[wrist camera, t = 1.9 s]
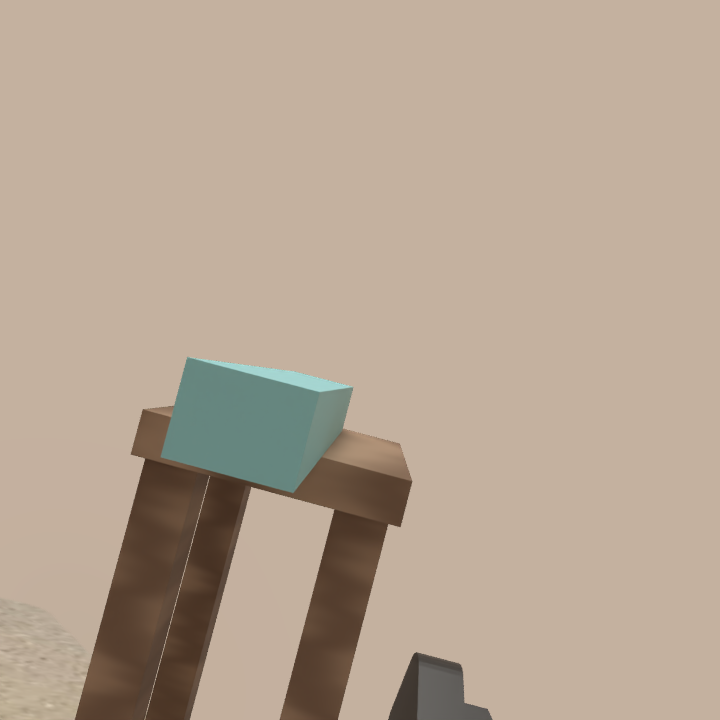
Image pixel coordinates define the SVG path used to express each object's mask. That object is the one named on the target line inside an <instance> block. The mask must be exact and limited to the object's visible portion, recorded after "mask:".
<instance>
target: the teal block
mask: <svg viewBox="0 0 720 720" xmlns="http://www.w3.org/2000/svg"><path fill="white" fill-rule="evenodd" d="M352 391H353V387H351V386H347V385H344V384H340V383H336V382H332V381H329V380H325V379H321V378H317V377H313V376H310V375H306V374H302V373H298V372H293V371H285V370H278V369H271V368H264V367H256V366H249V365H241V364H234V363H226V362H219V361H212V360H204V359H196V358H189V357H187V360H186V364H185V368H184V372H183V375H182V379H181V383H180V386H179V390H178V394H177V398H176V401H175V405H174V409H173V412H172V416H171V420H170V424H169V427H168V431H167V435H166V438H165V442H164V446H163V450H162V453H161V458H165V459H169V460H173V461H176V462H180V463H184V464H187V465H191V466H195V467H199V468H202V469H206V470H210V471H213V472H217V473H221V474H225V475H228V476H232V477H236V478H239V479H243V480H247V481H250V482H254V483H258V484H262V485H265V486H269V487H273V488H276V489H280V490H284V491H288V492H291V493H294V491H295V490H296V489H297V488H298V486H299V485H300V484H301V482H302V481H303V480H304V479H305V477H306V476H307V475H308V474H309V472H310V471H311V470H312V468H313V467H314V466H315V465H316V463H317V462H318V461H319V460H320V458H321V457H322V456H323V454H324V453H325V452H326V451H327V449H328V448H329V447H330V446H331V444H332V443H333V442H334V440H335V439H336V438H337V437H338V435H339V434H340V433H341V432H342V429H343V425H344V421H345V417H346V413H347V409H348V406H349V402H350V398H351V394H352Z"/></svg>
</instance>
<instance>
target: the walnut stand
mask: <svg viewBox="0 0 720 720" xmlns="http://www.w3.org/2000/svg"><path fill="white" fill-rule="evenodd" d="M173 409H174V406H169V407H161V408H152V409H143V411H142V415H141V419H140V422H139V426H138V429H137V433H136V437H135V441H134V445H133V448H132V452H131V455H135V456H139V457H143V458H145V462H144V465H143V469H142V473H141V476H140V480H139V484H138V488H137V491H136V495H135V499H134V503H133V506H132V510H131V514H130V517H129V521H128V525H127V529H126V532H125V536H124V540H123V543H122V548H121V551H120V554H119V558H118V562H117V565H116V569H115V573H114V577H113V580H112V584H111V588H110V591H109V595H108V599H107V603H106V606H105V610H104V614H103V618H102V622H101V625H100V629H99V633H98V636H97V640H96V644H95V647H94V651H93V655H92V658H91V662H90V666H89V669H88V673H87V677H86V680H85V684H84V688H83V692H82V695H81V699H80V703H79V706H78V710H77V714H76V718H75V720H144V719H145V715H146V711H147V707H148V704H149V700H150V696H151V692H152V689H153V685H154V681H155V677H156V674H157V670H158V666H159V662H160V659H161V655H162V651H163V647H164V644H165V640H166V636H167V632H168V628H169V625H170V621H171V617H172V614H173V610H174V606H175V602H176V598H177V595H178V591H179V587H180V584H181V579H182V576H183V572H184V569H185V565H186V561H187V557H188V554H189V550H190V546H191V542H192V538H193V535H194V531H195V527H196V524H197V520H198V516H199V512H200V509H201V505H202V501H203V497H204V494H205V490H206V486H207V482H208V479H209V476H210V479H209V483H208V486H207V490H206V494H205V498H204V502H203V505H202V509H201V513H200V517H199V520H198V524H197V528H196V531H195V535H194V539H193V543H192V546H191V550H190V554H189V558H188V561H187V565H186V569H185V573H184V577H183V580H182V584H181V588H180V591H179V595H178V599H177V603H176V606H175V610H174V614H173V618H172V622H171V625H170V629H169V633H168V636H167V640H166V644H165V648H164V652H163V655H162V659H161V663H160V666H159V670H158V674H157V678H156V681H155V685H154V689H153V693H152V697H151V700H150V704H149V708H148V711H147V715H146V719H145V720H190V716H191V712H192V709H193V705H194V701H195V697H196V694H197V690H198V686H199V682H200V678H201V674H202V671H203V667H204V663H205V659H206V656H207V652H208V648H209V645H210V641H211V637H212V633H213V629H214V625H215V622H216V618H217V614H218V611H219V607H220V603H221V599H222V595H223V592H224V588H225V584H226V580H227V577H228V573H229V569H230V565H231V561H232V558H233V554H234V550H235V546H236V543H237V539H238V535H239V531H240V527H241V524H242V520H243V516H244V512H245V509H246V505H247V500H248V497H249V493H250V490H251V487H253V488H257V489H261V490H265V491H269V492H272V493H276V494H279V495H283V496H287V497H291V498H294V499H298V500H302V501H305V502H309V503H313V504H317V505H320V506H324V507H328V508H332V509H335V510H334V514H333V518H332V521H331V525H330V529H329V533H328V537H327V541H326V545H325V549H324V552H323V556H322V560H321V564H320V567H319V571H318V575H317V579H316V583H315V587H314V591H313V594H312V598H311V602H310V606H309V610H308V613H307V617H306V621H305V625H304V629H303V633H302V636H301V640H300V644H299V648H298V652H297V656H296V659H295V663H294V667H293V671H292V675H291V679H290V682H289V686H288V690H287V694H286V698H285V702H284V705H283V709H282V713H281V717H280V720H338V716H339V713H340V708H341V705H342V701H343V697H344V693H345V689H346V685H347V682H348V678H349V674H350V670H351V666H352V662H353V658H354V654H355V651H356V647H357V642H358V639H359V635H360V631H361V627H362V623H363V620H364V616H365V612H366V608H367V604H368V600H369V596H370V593H371V588H372V585H373V581H374V577H375V573H376V569H377V565H378V561H379V558H380V554H381V550H382V546H383V542H384V538H385V534H386V530H387V527H388V524H391V525H394V526H398V527H401V523H402V519H403V515H404V511H405V507H406V504H407V500H408V496H409V492H410V487H411V484H412V479H411V476H410V473H409V470H408V467H407V464H406V461H405V458H404V455H403V452H402V449H401V446H400V444H399V443H395V442H391V441H388V440H384V439H380V438H376V437H372V436H369V435H365V434H361V433H357V432H354V431H350V430H346V429H342V432H341V433H340V434H339V435H338V437H337V438H336V439H335V440H334V442H333V443H332V444H331V446H330V447H329V448H328V449H327V451H326V452H325V453H324V454H323V456H322V457H321V458H320V460H319V461H318V462H317V463H316V465H315V466H314V467H313V468H312V470H311V471H310V472H309V474H308V475H307V476H306V477H305V479H304V480H303V481H302V482H301V484H300V485H299V486H298V488H297V489H296V490H295V491H294V493H291V492H288V491H284V490H280V489H276V488H273V487H269V486H265V485H262V484H258V483H254V482H250V481H247V480H243V479H239V478H236V477H232V476H228V475H225V474H221V473H217V472H213V471H210V470H206V469H202V468H199V467H195V466H191V465H187V464H184V463H180V462H176V461H173V460H169V459H165V458H161V453H162V450H163V446H164V442H165V438H166V435H167V431H168V427H169V424H170V420H171V416H172V412H173Z"/></svg>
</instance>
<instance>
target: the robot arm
mask: <svg viewBox="0 0 720 720" xmlns="http://www.w3.org/2000/svg"><path fill="white" fill-rule="evenodd" d="M388 720H492V718H491V716H490V713H489V711H488V709H485V708H481V707H478V706H474V705H470V704H466V703H464V685H463V671H462V667H461V665H460V664H459V663H455V662H451V661H447V660H444V659H440V658H436V657H432V656H428V655H425V654H421V653H417V652H416V653H414V655H413V657H412V659H411V661H410V664H409V666H408V669H407V671H406V674H405V676H404V679H403V681H402V684H401V687H400V689H399V692H398V694H397V697H396V699H395V702H394V704H393V707H392V710H391V712H390V716H389V719H388Z"/></svg>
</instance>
